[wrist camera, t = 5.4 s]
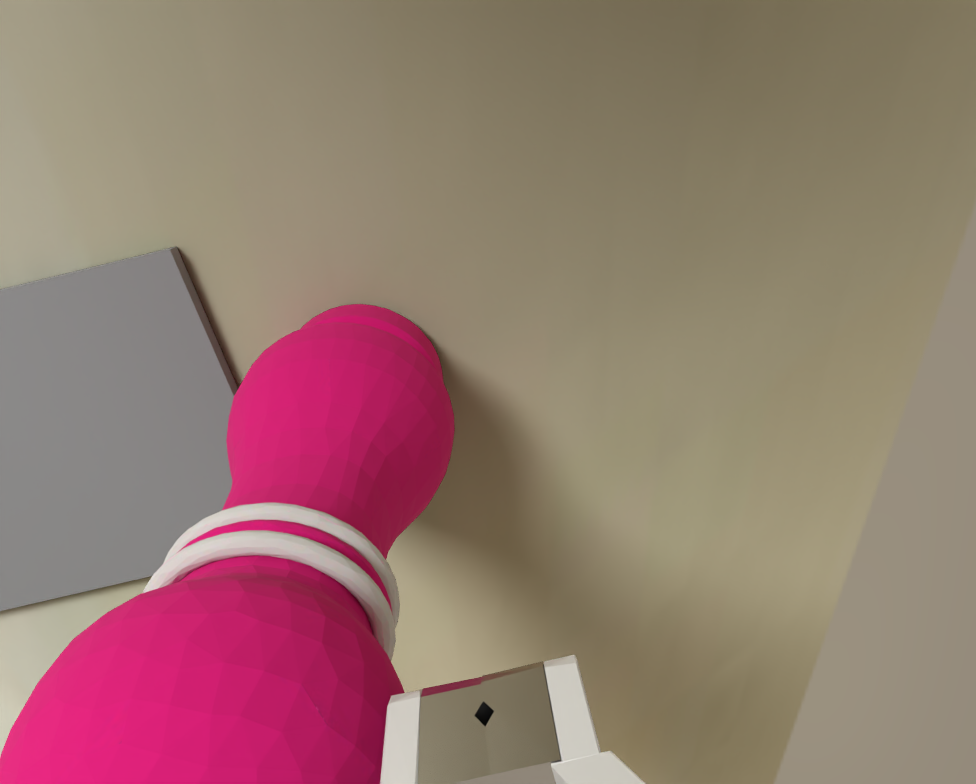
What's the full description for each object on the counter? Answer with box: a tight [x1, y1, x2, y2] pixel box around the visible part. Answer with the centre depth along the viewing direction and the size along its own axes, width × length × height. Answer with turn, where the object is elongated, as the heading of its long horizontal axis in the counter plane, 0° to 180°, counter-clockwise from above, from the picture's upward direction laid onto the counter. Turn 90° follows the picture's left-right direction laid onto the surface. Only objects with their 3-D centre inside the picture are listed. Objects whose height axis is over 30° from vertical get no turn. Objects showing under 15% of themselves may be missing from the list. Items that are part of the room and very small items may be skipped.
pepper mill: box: [0, 304, 454, 784], centre depth 15 cm, size 7×7×20 cm
